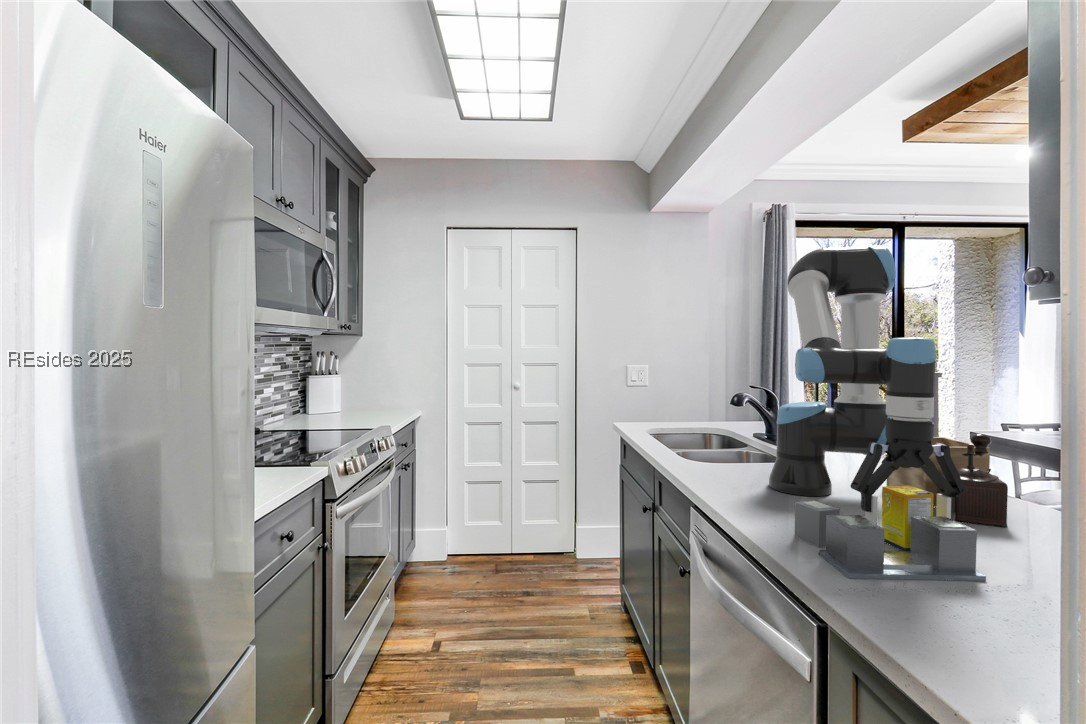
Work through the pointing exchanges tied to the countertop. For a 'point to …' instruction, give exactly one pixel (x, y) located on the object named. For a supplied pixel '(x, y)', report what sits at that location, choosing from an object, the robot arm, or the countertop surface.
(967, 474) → the manual coffee grinder
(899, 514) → the supplement box
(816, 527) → the module
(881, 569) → the rail panel
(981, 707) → the countertop surface
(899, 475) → the bottle crate
